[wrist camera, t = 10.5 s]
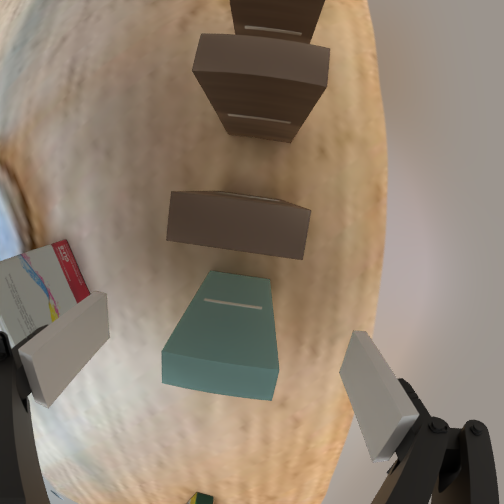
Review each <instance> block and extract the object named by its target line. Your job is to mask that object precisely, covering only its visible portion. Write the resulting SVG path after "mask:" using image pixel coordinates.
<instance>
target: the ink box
mask: <svg viewBox="0 0 504 504" xmlns="http://www.w3.org/2000/svg"><path fill="white" fill-rule="evenodd" d="M89 295H90V293H89V291H88V289H87V286H86V284H85V282H84V280H83V278H82V275H81V273H80V271H79V268H78V266H77V263H76V261H75V259H74V256H73V254H72V251H71V249H70V247H69V245H68V242H67V240H62V241H59V242H56V243H53V244H50V245H47V246H44V247H41V248H38V249H35V250H32V251H29V252H26V253H23V254H20V255H17V256H14V257H11V258H8V259H5V260H3V261H0V331H3V332H5V333H6V334H7V335H8V338H9V342H10V346H11V349H12V348H13V347H14V346H15V345H17V344H18V343H19V342H20V341H22V340H23V339H24V338H27V336H28V335H30V334H32V332H33V331H35V330H36V329H37V328H39V327H42V326H44V325H47V324H48V325H50V324H51V323H52V322H54V321H55V320H56V319H58V318H59V317H60V316H62V315H63V314H64V313H66V312H67V311H68V310H70V309H71V308H72V307H74V306H75V305H76V304H78V303H79V302H81V301H82V300H83V299H85V298H86V297H87V296H89Z"/></svg>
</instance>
